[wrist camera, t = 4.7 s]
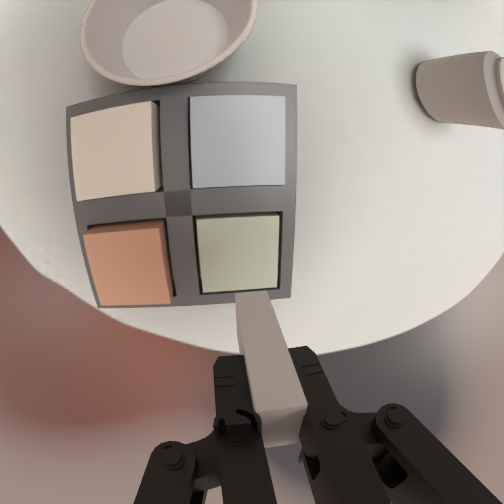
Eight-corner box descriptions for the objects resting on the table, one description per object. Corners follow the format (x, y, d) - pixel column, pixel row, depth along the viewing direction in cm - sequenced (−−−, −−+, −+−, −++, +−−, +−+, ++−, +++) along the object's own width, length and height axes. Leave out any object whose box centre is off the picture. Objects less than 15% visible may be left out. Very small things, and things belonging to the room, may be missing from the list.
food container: (203, 122, 20) (200, 112, 14) (86, 80, 16) (50, 64, 10) (269, 16, 17) (288, -18, 11) (154, -20, 13) (142, -57, 7)
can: (455, 82, 20) (530, 82, 9) (448, 133, 23) (529, 147, 12) (413, 49, 19) (495, 33, 8) (406, 104, 21) (498, 103, 10)
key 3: (193, 102, 17) (190, 96, 14) (276, 101, 17) (285, 96, 15) (195, 182, 19) (192, 188, 17) (276, 179, 20) (284, 184, 17)
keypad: (87, 110, 18) (66, 107, 14) (282, 93, 20) (296, 84, 16) (110, 285, 24) (98, 308, 21) (279, 275, 26) (290, 297, 23)
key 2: (95, 224, 19) (82, 234, 17) (164, 218, 20) (158, 228, 17) (109, 289, 21) (101, 305, 19) (174, 287, 22) (170, 303, 20)
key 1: (198, 211, 21) (196, 219, 19) (272, 207, 22) (279, 215, 20) (203, 277, 24) (203, 292, 21) (270, 273, 24) (276, 287, 22)
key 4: (85, 119, 16) (70, 117, 13) (158, 106, 16) (151, 101, 14) (90, 194, 18) (76, 201, 16) (161, 185, 19) (155, 191, 16)
